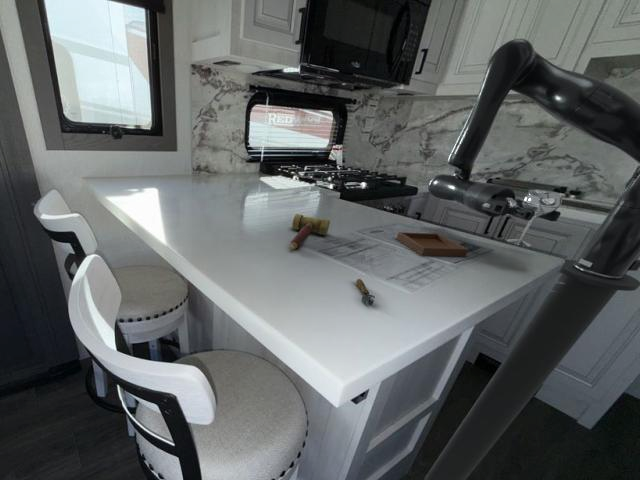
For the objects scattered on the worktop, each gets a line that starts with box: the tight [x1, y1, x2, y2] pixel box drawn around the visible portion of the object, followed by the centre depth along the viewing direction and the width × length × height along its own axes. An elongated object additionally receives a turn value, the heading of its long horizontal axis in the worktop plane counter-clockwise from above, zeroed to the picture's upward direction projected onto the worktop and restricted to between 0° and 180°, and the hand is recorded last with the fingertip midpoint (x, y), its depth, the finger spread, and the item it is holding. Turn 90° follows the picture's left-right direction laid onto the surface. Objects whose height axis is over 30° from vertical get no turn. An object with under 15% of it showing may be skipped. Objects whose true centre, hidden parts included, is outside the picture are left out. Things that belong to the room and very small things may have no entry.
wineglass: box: [506, 188, 567, 248], centre depth 72 cm, size 7×7×12 cm
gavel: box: [290, 213, 331, 250], centre depth 84 cm, size 21×5×10 cm
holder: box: [396, 231, 469, 258], centre depth 86 cm, size 13×13×2 cm
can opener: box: [356, 278, 376, 306], centre depth 59 cm, size 9×2×1 cm, turn 171°
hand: (544, 216), depth 69 cm, fingers closed on wineglass, 6 cm apart
